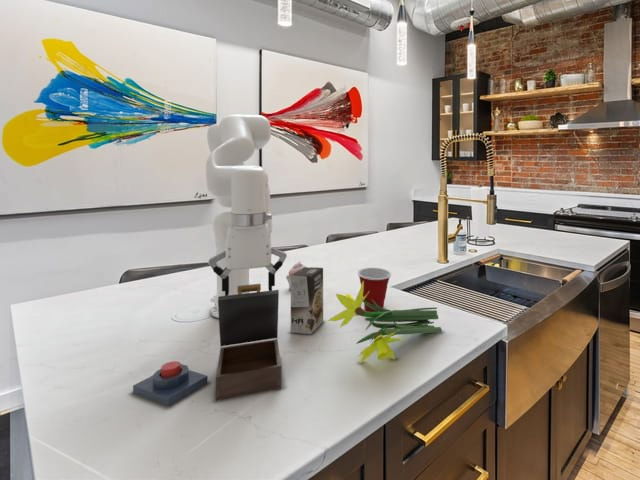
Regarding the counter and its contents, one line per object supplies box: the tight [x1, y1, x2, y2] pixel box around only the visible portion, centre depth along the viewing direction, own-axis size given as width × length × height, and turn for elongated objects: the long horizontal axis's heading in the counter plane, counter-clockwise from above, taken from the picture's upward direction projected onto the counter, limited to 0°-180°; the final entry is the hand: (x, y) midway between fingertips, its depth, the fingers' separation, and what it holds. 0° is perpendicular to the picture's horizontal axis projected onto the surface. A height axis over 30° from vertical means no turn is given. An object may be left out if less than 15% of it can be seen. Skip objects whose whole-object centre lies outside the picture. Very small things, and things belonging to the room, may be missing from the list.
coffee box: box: [290, 266, 324, 335], centre depth 116 cm, size 9×6×16 cm
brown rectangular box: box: [215, 338, 282, 402], centre depth 89 cm, size 14×13×5 cm
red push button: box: [160, 360, 182, 378], centre depth 85 cm, size 4×4×2 cm
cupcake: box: [285, 261, 307, 291], centre depth 150 cm, size 9×9×10 cm
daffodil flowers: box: [327, 281, 442, 364], centre depth 102 cm, size 17×15×35 cm
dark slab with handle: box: [218, 283, 280, 347], centre depth 95 cm, size 14×13×6 cm
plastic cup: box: [357, 267, 392, 312], centre depth 130 cm, size 11×11×12 cm
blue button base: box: [132, 363, 209, 407], centre depth 85 cm, size 11×9×4 cm
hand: (248, 291), depth 96 cm, fingers open, 9 cm apart
